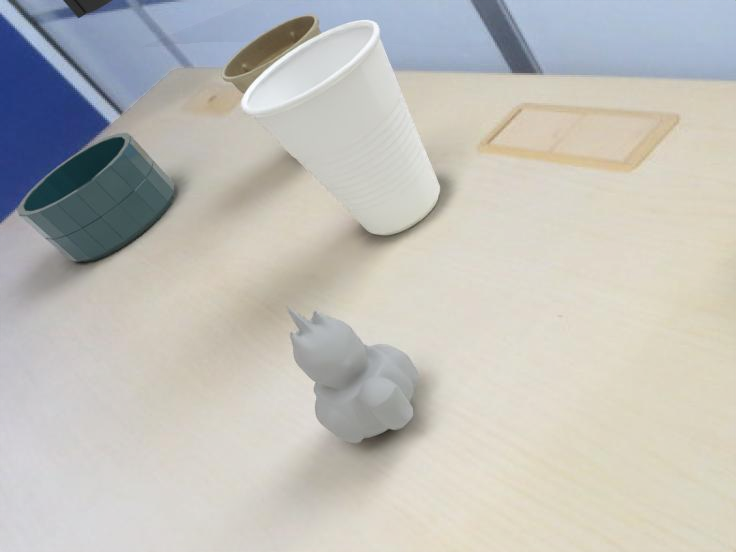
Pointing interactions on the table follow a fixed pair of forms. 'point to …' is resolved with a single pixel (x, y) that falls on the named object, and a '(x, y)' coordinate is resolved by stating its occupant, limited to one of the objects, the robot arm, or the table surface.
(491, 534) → the table surface
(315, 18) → the flower pot
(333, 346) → the grey horned figurine
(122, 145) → the teal short open cylinder
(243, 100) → the cup
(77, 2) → the dark grey frame
